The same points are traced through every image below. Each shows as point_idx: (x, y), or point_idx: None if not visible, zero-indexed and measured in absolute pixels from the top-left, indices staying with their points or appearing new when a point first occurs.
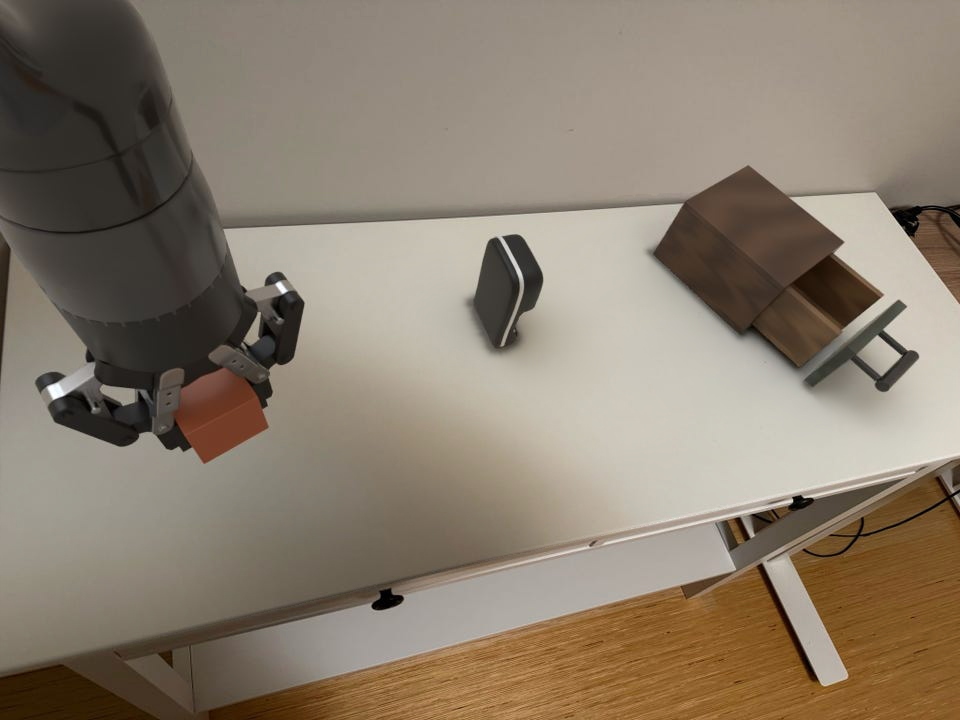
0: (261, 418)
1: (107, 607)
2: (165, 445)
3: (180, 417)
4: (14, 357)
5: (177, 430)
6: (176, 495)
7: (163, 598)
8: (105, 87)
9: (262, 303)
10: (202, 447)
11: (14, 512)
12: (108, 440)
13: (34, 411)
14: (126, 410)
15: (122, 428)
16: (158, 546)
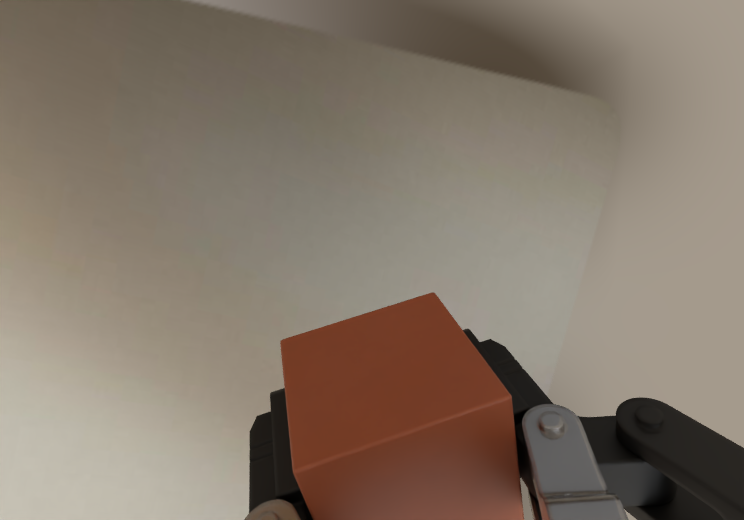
0: (293, 377)
1: (529, 128)
2: (510, 357)
3: (503, 442)
4: None
5: None
6: (419, 246)
7: (470, 111)
8: None
9: None
10: (448, 338)
11: (576, 278)
12: (718, 439)
13: None
14: (631, 495)
15: (697, 474)
16: (457, 185)
